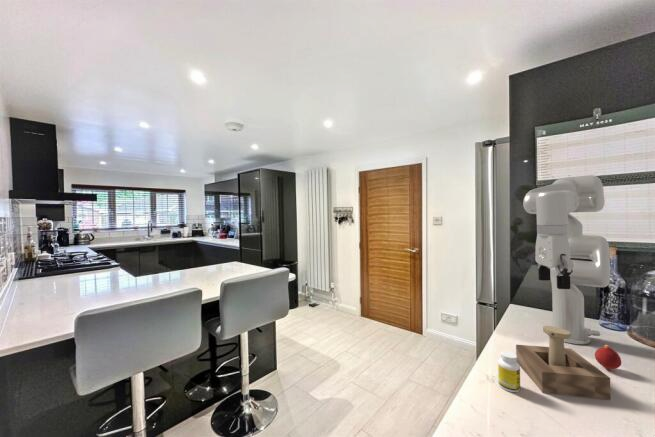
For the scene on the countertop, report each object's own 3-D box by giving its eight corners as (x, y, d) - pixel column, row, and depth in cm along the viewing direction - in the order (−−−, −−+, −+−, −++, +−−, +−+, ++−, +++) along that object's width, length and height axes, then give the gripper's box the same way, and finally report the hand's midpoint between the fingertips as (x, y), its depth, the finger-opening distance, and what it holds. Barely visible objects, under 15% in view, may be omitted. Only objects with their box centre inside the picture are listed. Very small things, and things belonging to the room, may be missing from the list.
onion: (613, 366, 87) (612, 342, 87) (626, 376, 81) (626, 350, 81) (591, 363, 89) (590, 339, 89) (602, 373, 83) (601, 348, 83)
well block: (571, 366, 87) (570, 348, 87) (610, 399, 72) (610, 377, 72) (516, 361, 91) (516, 344, 91) (542, 392, 75) (541, 371, 75)
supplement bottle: (521, 395, 75) (520, 361, 74) (498, 389, 77) (497, 356, 77) (519, 384, 79) (518, 352, 79) (498, 379, 82) (497, 348, 82)
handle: (567, 386, 78) (566, 335, 78) (541, 375, 83) (540, 328, 83) (574, 380, 80) (573, 331, 80) (548, 370, 86) (547, 324, 86)
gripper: (524, 228, 92) (526, 277, 93) (555, 233, 75) (556, 292, 76) (549, 228, 91) (550, 277, 91) (586, 232, 74) (587, 293, 74)
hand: (553, 284), depth 84 cm, fingers open, 9 cm apart
